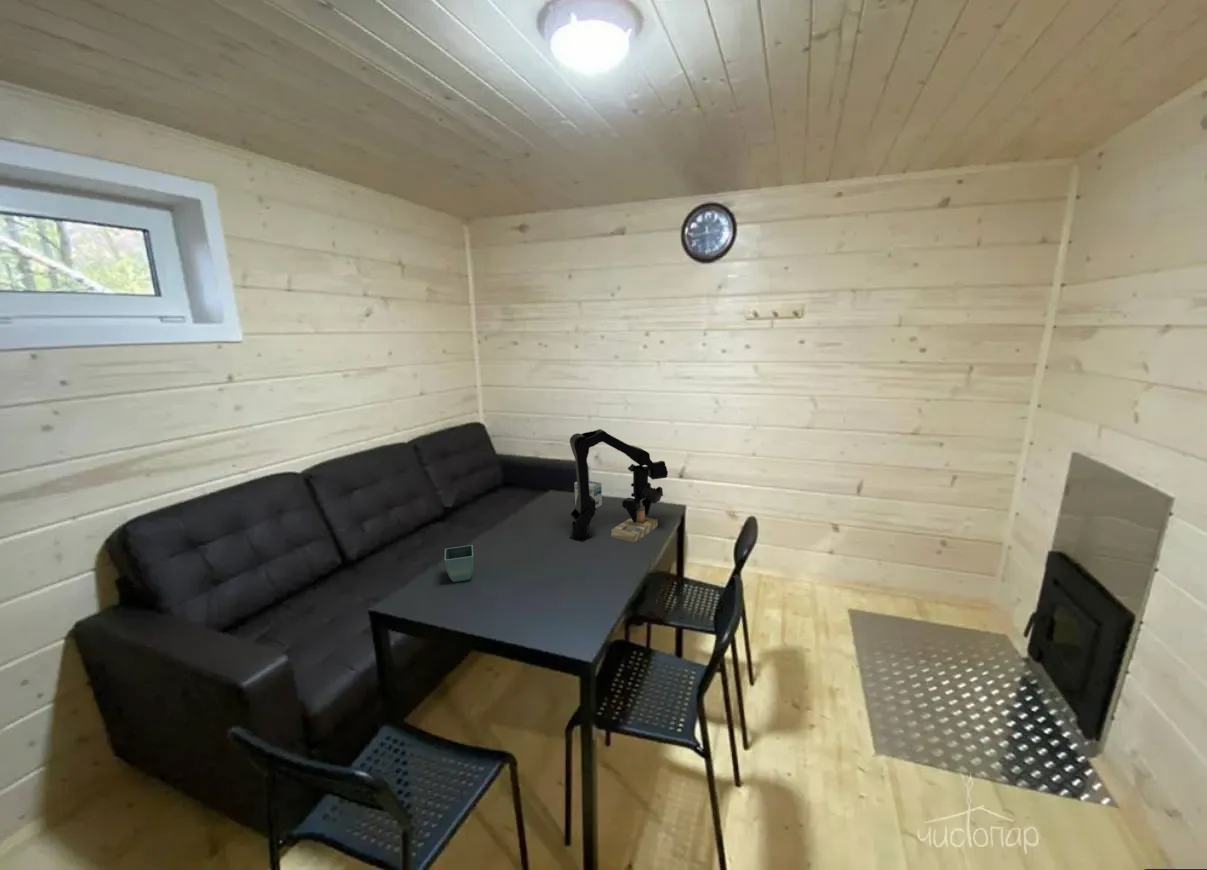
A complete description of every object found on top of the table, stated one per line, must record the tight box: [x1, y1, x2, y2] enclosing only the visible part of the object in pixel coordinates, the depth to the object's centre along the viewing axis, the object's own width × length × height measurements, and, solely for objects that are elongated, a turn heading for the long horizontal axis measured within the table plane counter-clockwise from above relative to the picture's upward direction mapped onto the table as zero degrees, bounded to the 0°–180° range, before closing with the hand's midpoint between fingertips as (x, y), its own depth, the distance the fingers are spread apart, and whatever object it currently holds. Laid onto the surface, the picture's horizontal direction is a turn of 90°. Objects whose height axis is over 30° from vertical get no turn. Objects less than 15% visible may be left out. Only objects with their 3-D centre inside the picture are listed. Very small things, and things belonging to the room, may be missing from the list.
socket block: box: [611, 516, 659, 544], centre depth 197 cm, size 18×10×3 cm, turn 146°
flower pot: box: [443, 544, 474, 583], centre depth 163 cm, size 9×9×9 cm
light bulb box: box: [573, 480, 603, 509], centre depth 226 cm, size 11×7×11 cm, turn 58°
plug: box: [637, 504, 646, 524], centre depth 200 cm, size 3×3×9 cm
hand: (640, 518), depth 200 cm, fingers open, 9 cm apart
